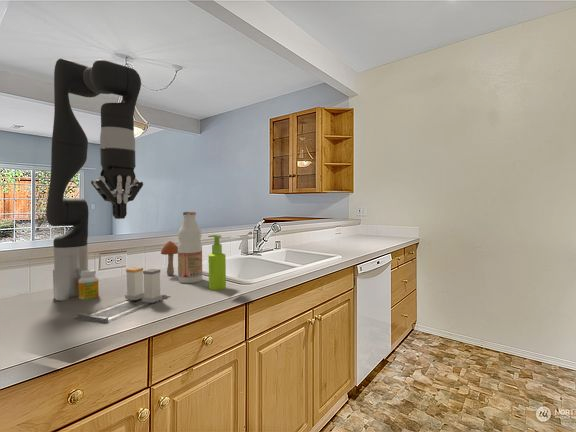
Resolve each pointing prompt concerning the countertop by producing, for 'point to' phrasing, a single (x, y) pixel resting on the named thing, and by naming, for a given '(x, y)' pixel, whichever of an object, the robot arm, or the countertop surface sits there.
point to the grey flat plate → (116, 310)
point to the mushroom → (170, 255)
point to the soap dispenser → (217, 266)
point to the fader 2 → (151, 285)
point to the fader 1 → (134, 283)
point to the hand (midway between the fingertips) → (119, 218)
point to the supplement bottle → (88, 285)
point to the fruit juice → (189, 250)
